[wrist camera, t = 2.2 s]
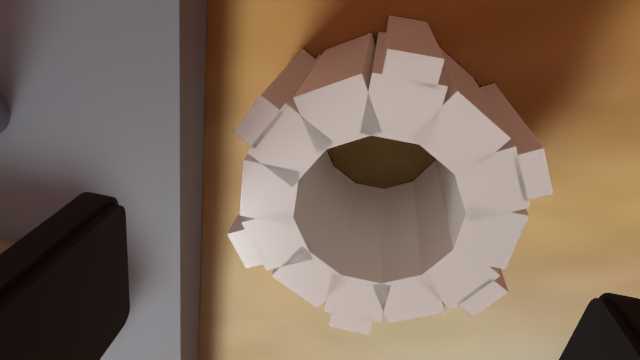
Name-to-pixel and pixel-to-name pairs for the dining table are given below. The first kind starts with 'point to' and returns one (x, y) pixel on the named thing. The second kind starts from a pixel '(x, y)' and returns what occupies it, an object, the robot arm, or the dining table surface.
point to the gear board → (112, 143)
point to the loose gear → (391, 203)
